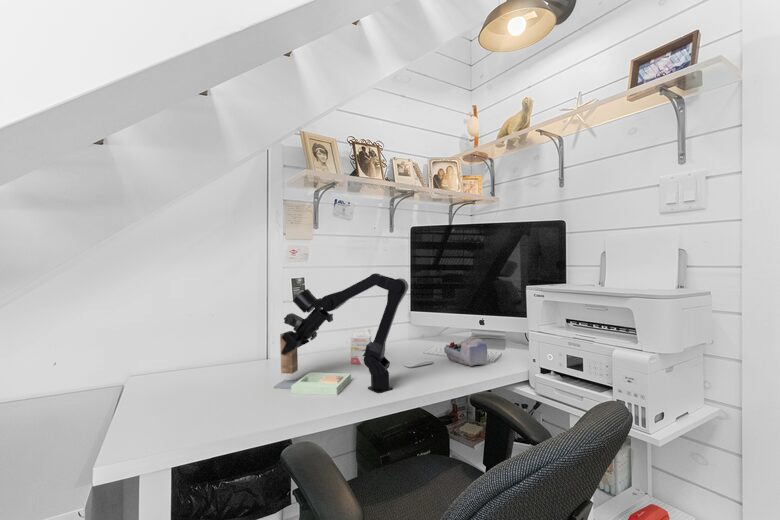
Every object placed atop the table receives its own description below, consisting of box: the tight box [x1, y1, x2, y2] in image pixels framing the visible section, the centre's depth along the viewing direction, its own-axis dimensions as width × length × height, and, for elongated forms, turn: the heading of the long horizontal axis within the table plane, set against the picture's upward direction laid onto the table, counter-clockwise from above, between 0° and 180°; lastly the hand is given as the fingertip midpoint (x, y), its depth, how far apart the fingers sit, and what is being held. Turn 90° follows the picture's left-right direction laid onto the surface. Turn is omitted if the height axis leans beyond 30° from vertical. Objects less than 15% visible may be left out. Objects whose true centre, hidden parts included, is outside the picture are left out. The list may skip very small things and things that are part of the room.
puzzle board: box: [290, 372, 352, 396], centre depth 134 cm, size 16×16×4 cm
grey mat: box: [273, 379, 300, 390], centre depth 137 cm, size 8×8×1 cm
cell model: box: [443, 338, 488, 367], centre depth 164 cm, size 13×11×20 cm
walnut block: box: [279, 331, 299, 375], centre depth 137 cm, size 4×4×14 cm
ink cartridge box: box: [350, 328, 372, 365], centre depth 166 cm, size 9×5×15 cm, turn 84°
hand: (285, 352), depth 137 cm, fingers closed on walnut block, 4 cm apart
